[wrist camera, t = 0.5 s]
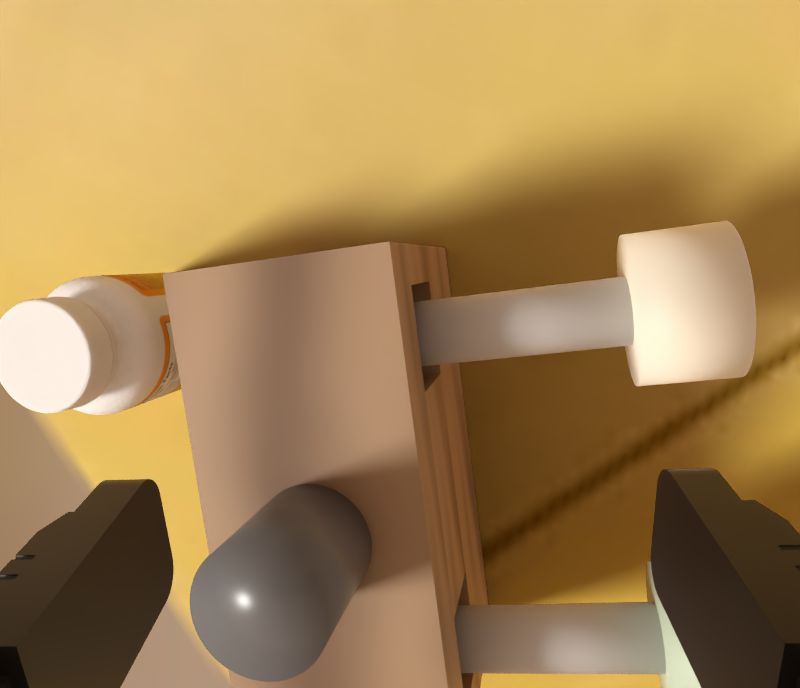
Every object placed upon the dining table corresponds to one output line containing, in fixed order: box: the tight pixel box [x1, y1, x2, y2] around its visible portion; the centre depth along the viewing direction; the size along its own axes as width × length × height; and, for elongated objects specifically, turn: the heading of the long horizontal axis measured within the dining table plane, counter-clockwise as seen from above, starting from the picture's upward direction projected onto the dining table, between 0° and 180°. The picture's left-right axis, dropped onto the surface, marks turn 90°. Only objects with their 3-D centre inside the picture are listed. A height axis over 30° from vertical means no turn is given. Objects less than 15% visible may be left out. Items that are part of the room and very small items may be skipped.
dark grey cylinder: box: [190, 484, 372, 682], centre depth 18 cm, size 4×4×4 cm
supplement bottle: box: [0, 272, 182, 415], centre depth 27 cm, size 5×5×10 cm
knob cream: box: [413, 221, 756, 386], centre depth 21 cm, size 12×5×5 cm, turn 97°
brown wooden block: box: [162, 241, 489, 688], centre depth 25 cm, size 7×17×11 cm, turn 7°
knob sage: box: [454, 562, 701, 688], centre depth 22 cm, size 12×5×5 cm, turn 98°
